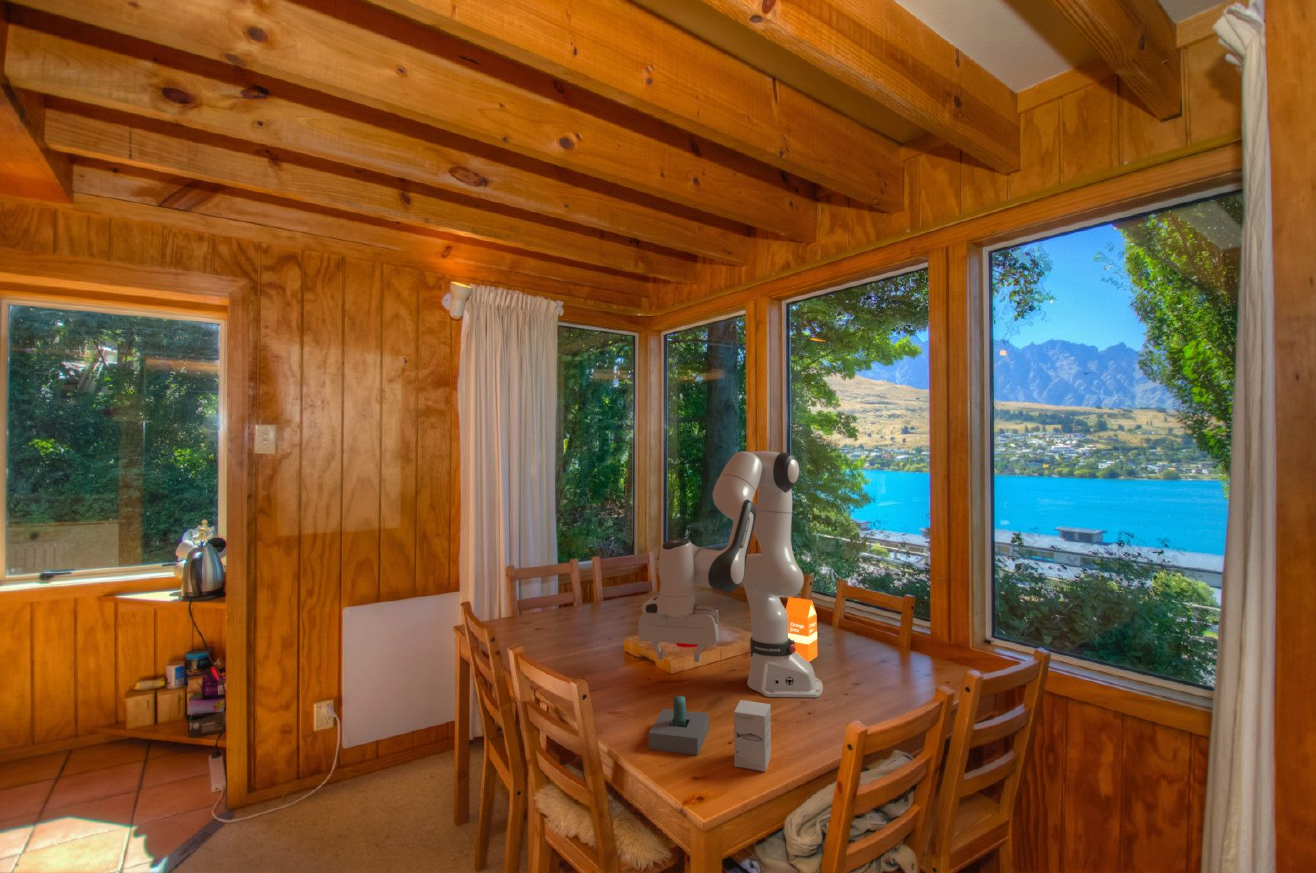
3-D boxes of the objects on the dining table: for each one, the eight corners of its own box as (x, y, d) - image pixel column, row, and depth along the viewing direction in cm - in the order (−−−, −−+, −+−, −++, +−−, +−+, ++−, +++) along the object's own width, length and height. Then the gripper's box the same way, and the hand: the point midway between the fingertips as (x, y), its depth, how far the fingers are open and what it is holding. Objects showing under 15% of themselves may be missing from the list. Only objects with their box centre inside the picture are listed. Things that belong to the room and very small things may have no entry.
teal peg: (687, 736, 153) (686, 696, 153) (684, 742, 150) (683, 701, 150) (675, 735, 153) (675, 695, 154) (672, 740, 151) (672, 700, 151)
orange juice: (808, 662, 204) (807, 602, 205) (784, 657, 210) (783, 599, 210) (817, 655, 210) (816, 597, 211) (794, 651, 216) (793, 594, 216)
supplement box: (733, 767, 138) (732, 711, 138) (740, 752, 145) (740, 698, 145) (765, 773, 135) (764, 715, 135) (772, 757, 142) (771, 702, 142)
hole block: (708, 728, 157) (708, 713, 157) (697, 755, 143) (697, 738, 143) (663, 723, 160) (663, 708, 160) (648, 749, 146) (648, 732, 147)
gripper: (720, 602, 153) (722, 658, 152) (642, 599, 158) (644, 652, 158) (716, 609, 147) (717, 667, 146) (635, 605, 152) (636, 661, 152)
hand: (679, 659), depth 152 cm, fingers open, 8 cm apart
